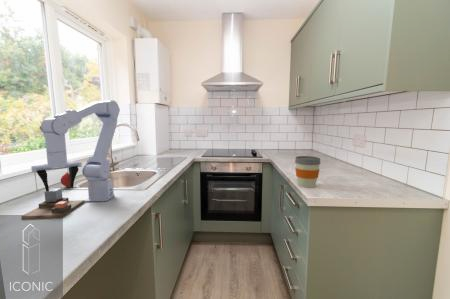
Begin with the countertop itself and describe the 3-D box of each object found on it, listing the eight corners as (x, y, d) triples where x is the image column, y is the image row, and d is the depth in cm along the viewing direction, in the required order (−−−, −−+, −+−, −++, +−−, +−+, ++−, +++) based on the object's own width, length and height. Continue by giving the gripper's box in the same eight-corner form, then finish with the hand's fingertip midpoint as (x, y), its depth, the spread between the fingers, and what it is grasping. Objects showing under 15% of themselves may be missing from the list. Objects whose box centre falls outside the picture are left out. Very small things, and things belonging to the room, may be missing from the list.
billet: (62, 202, 93) (61, 188, 92) (57, 205, 89) (55, 191, 88) (52, 202, 92) (50, 188, 91) (45, 206, 88) (44, 191, 87)
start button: (67, 205, 85) (67, 201, 85) (63, 208, 83) (62, 203, 82) (60, 206, 85) (59, 201, 85) (55, 208, 82) (55, 203, 82)
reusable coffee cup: (289, 183, 124) (290, 156, 122) (306, 181, 129) (307, 155, 128) (306, 190, 113) (307, 160, 111) (324, 187, 118) (326, 158, 116)
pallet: (84, 202, 95) (84, 196, 95) (62, 217, 80) (61, 210, 80) (50, 203, 94) (50, 197, 94) (21, 218, 79) (20, 211, 79)
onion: (59, 189, 114) (57, 173, 113) (64, 186, 120) (62, 171, 119) (72, 188, 116) (71, 172, 115) (76, 185, 121) (75, 170, 120)
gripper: (77, 149, 89) (80, 182, 91) (29, 152, 79) (33, 190, 81) (82, 150, 84) (84, 186, 86) (30, 154, 74) (34, 194, 76)
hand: (59, 188), depth 83 cm, fingers open, 7 cm apart
